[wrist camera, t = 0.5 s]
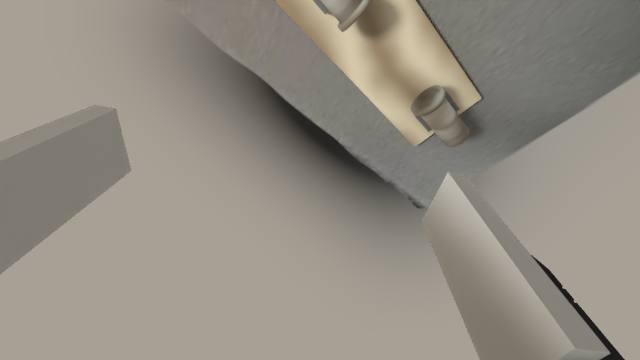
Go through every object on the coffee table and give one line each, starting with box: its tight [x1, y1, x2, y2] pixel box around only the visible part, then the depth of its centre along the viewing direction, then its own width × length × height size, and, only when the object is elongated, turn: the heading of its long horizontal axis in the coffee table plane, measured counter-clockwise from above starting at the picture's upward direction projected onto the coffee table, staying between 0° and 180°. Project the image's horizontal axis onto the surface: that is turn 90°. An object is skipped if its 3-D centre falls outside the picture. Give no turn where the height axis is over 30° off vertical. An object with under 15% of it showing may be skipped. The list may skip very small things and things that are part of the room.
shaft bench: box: [275, 0, 482, 147], centre depth 28 cm, size 10×26×6 cm, turn 46°
